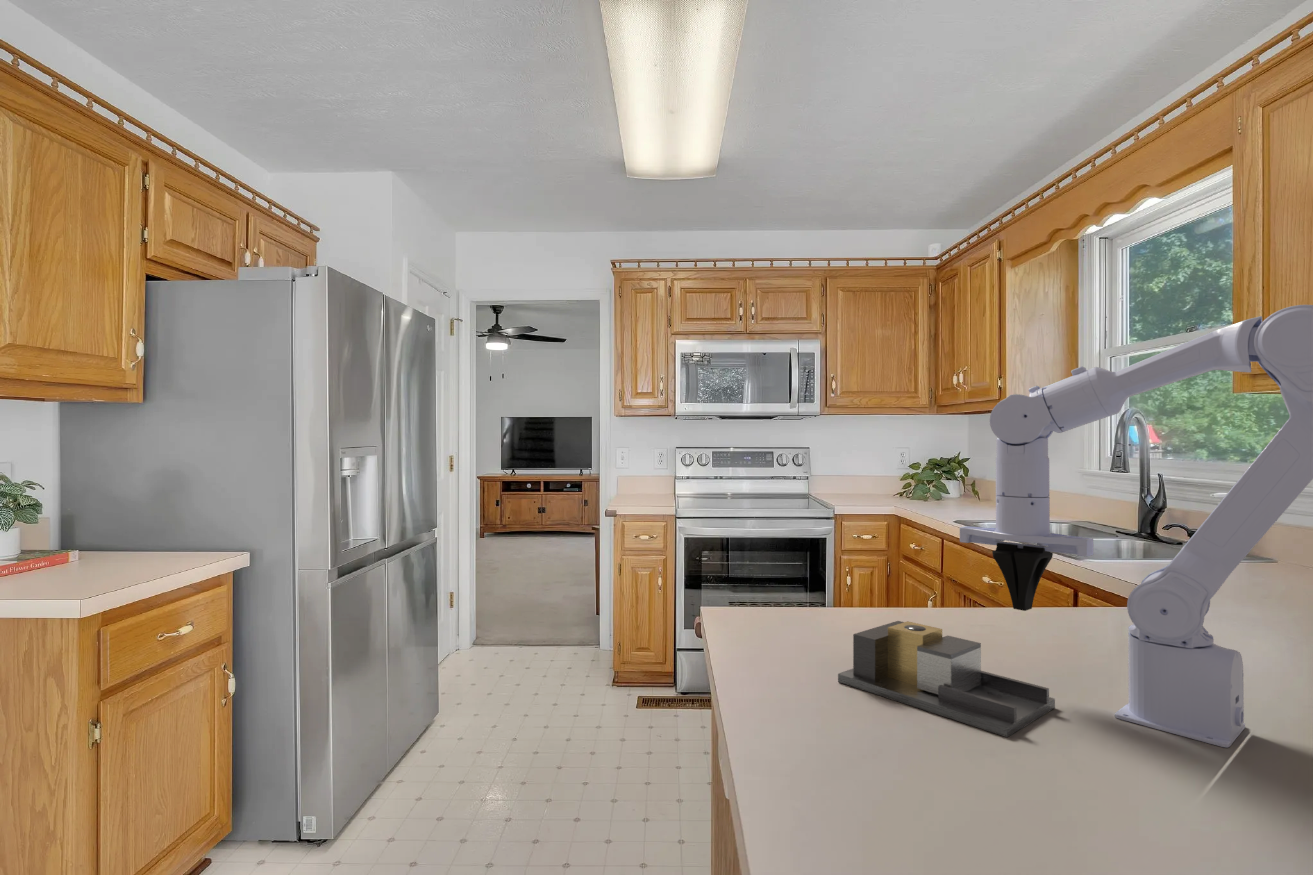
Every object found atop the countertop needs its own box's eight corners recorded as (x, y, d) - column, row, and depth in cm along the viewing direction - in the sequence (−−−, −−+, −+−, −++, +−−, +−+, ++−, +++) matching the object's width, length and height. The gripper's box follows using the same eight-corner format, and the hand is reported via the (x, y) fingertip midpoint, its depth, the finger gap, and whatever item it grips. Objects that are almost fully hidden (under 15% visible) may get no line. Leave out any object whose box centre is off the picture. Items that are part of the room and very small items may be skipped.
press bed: (1054, 707, 74) (1054, 653, 74) (1007, 737, 67) (1006, 676, 67) (891, 661, 90) (891, 617, 90) (838, 681, 82) (838, 632, 82)
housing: (942, 678, 80) (942, 628, 80) (922, 687, 78) (922, 635, 78) (907, 669, 84) (907, 620, 84) (887, 676, 81) (887, 626, 81)
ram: (980, 684, 78) (980, 642, 78) (951, 698, 74) (951, 654, 74) (947, 675, 81) (947, 635, 81) (917, 688, 77) (917, 646, 77)
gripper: (1102, 498, 78) (1103, 615, 78) (977, 491, 89) (977, 593, 89) (1080, 501, 73) (1080, 625, 73) (951, 493, 85) (951, 601, 84)
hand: (1022, 608), depth 81 cm, fingers closed
